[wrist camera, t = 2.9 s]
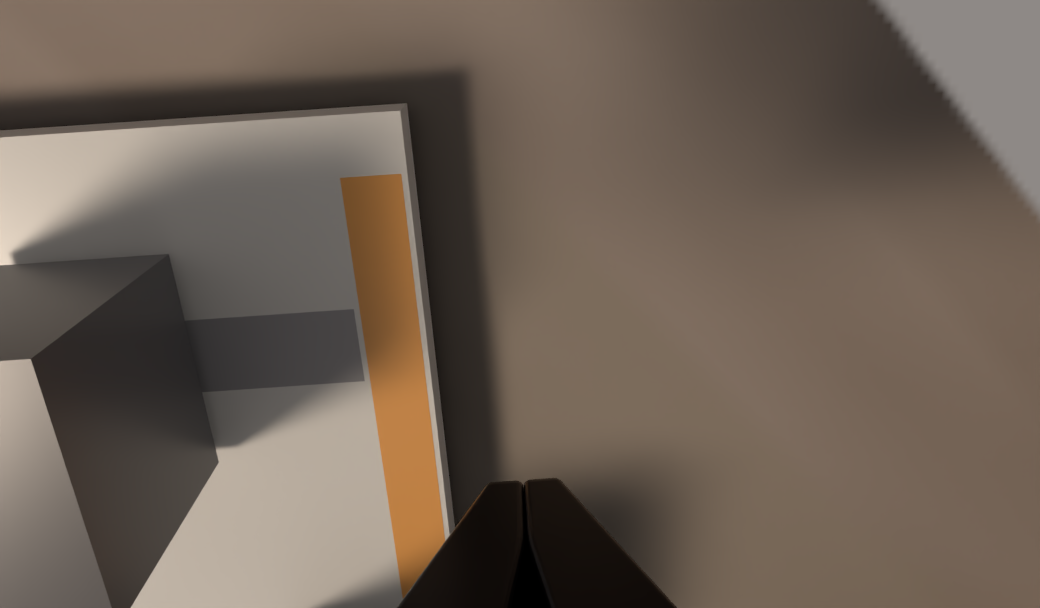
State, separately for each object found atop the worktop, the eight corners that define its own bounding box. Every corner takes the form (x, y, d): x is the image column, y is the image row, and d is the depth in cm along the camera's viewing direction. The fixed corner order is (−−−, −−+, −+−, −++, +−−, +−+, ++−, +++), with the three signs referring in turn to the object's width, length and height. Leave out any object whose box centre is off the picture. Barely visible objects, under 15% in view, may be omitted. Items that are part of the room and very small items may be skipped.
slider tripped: (168, 253, 13) (30, 358, 9) (218, 462, 14) (118, 627, 10) (-14, 266, 13) (-230, 376, 9) (54, 473, 14) (-106, 644, 10)
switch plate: (406, 103, 13) (399, 111, 12) (482, 768, 19) (481, 808, 18) (-299, 150, 13) (-361, 161, 12) (-5, 802, 19) (-32, 845, 18)
